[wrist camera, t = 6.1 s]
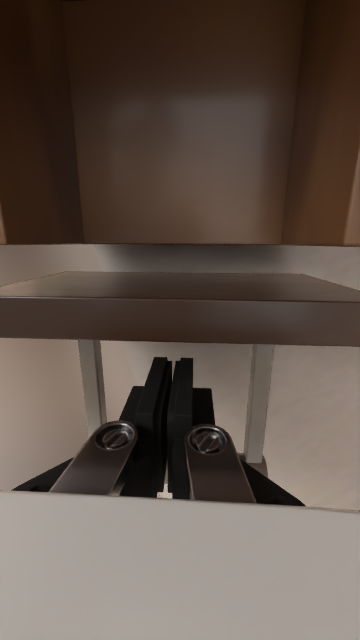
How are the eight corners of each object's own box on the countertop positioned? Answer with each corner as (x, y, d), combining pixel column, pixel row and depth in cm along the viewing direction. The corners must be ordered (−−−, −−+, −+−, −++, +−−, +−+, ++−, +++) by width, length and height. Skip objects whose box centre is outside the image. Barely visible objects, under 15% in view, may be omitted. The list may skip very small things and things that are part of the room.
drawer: (284, 417, 15) (345, 538, 9) (81, 409, 15) (7, 516, 9) (340, -13, 10) (576, -434, 4) (36, 2, 10) (-189, -336, 4)
